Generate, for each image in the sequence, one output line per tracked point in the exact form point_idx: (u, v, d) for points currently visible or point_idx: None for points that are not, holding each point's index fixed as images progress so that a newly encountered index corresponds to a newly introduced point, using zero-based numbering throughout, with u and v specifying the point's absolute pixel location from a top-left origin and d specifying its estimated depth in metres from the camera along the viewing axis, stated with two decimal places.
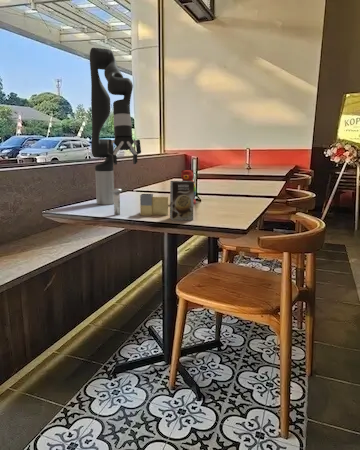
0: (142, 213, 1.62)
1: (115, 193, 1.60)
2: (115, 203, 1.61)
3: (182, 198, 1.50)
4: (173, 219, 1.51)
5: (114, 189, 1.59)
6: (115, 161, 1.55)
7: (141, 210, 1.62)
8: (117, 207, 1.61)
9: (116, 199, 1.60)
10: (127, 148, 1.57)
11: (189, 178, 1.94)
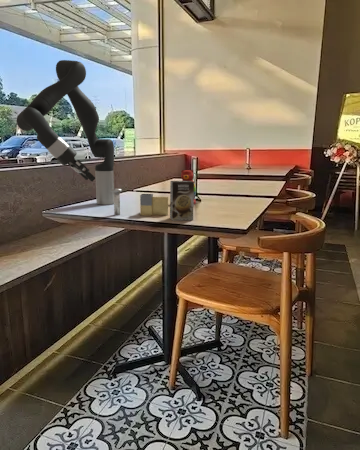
0: (142, 213, 1.62)
1: (115, 193, 1.60)
2: (115, 203, 1.61)
3: (182, 198, 1.50)
4: (173, 219, 1.51)
5: (114, 189, 1.59)
6: (84, 178, 1.57)
7: (141, 210, 1.62)
8: (117, 207, 1.61)
9: (116, 199, 1.60)
10: None
11: (189, 178, 1.94)
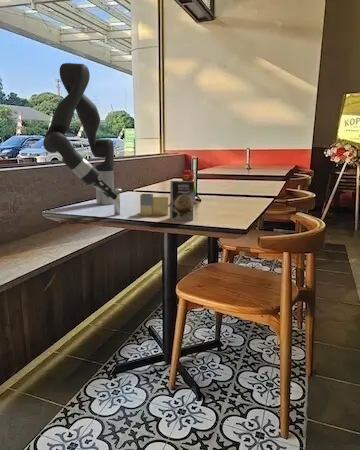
0: (142, 213, 1.62)
1: (115, 193, 1.60)
2: (115, 203, 1.61)
3: (182, 198, 1.50)
4: (173, 219, 1.51)
5: (114, 189, 1.59)
6: (106, 195, 1.64)
7: (141, 210, 1.62)
8: (117, 207, 1.61)
9: (116, 198, 1.60)
10: None
11: (189, 178, 1.94)
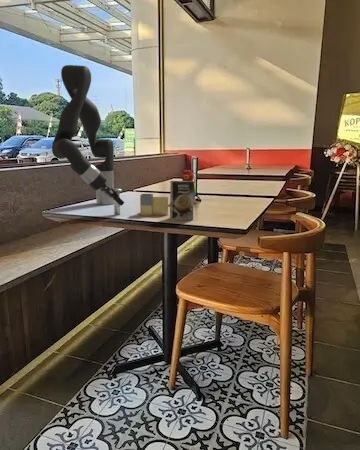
0: (142, 213, 1.62)
1: None
2: (115, 203, 1.61)
3: (182, 198, 1.50)
4: (173, 219, 1.51)
5: (114, 189, 1.59)
6: None
7: (141, 210, 1.62)
8: (117, 207, 1.61)
9: None
10: None
11: (189, 178, 1.94)
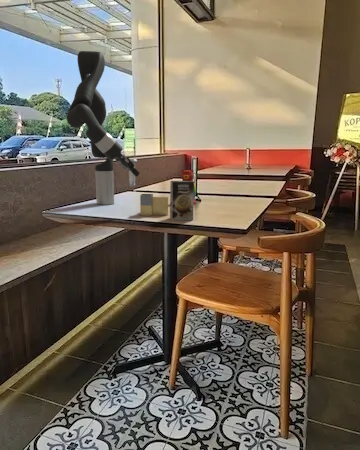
0: (142, 213, 1.62)
1: None
2: (130, 174, 1.59)
3: (182, 198, 1.50)
4: (173, 219, 1.51)
5: None
6: None
7: (141, 210, 1.62)
8: (132, 178, 1.59)
9: None
10: None
11: (189, 178, 1.94)
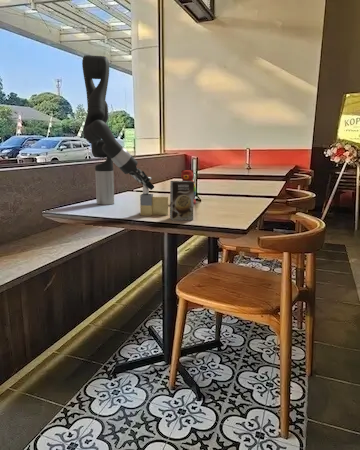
0: (142, 213, 1.62)
1: None
2: (144, 191, 1.61)
3: (182, 198, 1.50)
4: (173, 219, 1.51)
5: None
6: None
7: (141, 210, 1.62)
8: None
9: (146, 186, 1.61)
10: None
11: (189, 178, 1.94)
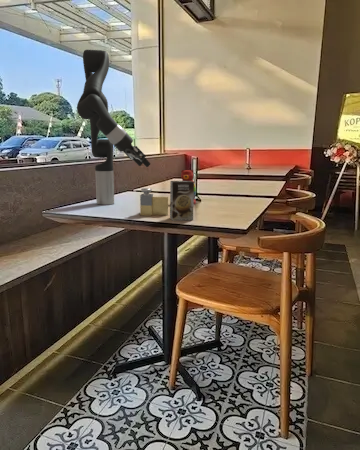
0: (142, 213, 1.62)
1: (144, 193, 1.62)
2: None
3: (182, 198, 1.50)
4: (173, 219, 1.51)
5: (143, 189, 1.61)
6: None
7: (141, 210, 1.62)
8: None
9: None
10: None
11: (189, 178, 1.94)
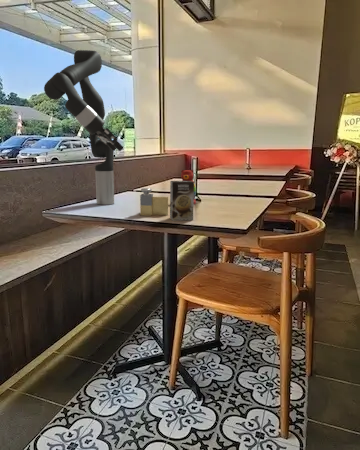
0: (142, 213, 1.62)
1: (144, 193, 1.62)
2: None
3: (182, 198, 1.50)
4: (173, 219, 1.51)
5: (143, 189, 1.61)
6: (111, 148, 1.56)
7: (141, 210, 1.62)
8: None
9: None
10: None
11: (189, 178, 1.94)
